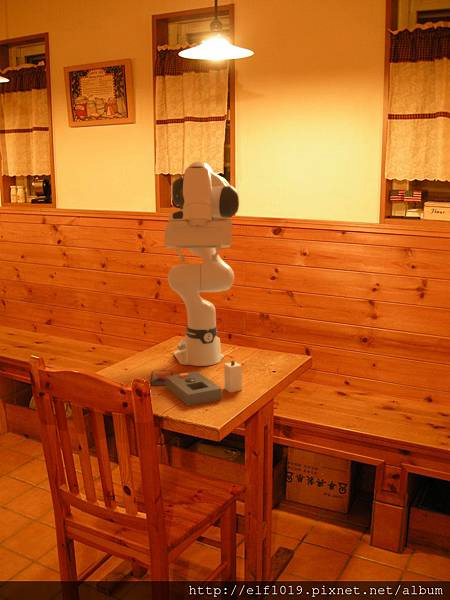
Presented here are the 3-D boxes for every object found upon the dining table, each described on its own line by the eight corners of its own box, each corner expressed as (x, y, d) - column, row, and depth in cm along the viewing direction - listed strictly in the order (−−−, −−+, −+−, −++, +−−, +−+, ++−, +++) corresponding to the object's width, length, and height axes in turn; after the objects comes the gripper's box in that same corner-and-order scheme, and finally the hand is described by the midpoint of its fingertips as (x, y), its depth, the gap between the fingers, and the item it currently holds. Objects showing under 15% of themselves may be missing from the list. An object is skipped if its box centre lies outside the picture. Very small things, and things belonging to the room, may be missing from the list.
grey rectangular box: (165, 387, 219) (165, 374, 218) (196, 381, 224) (196, 369, 223) (188, 406, 201) (188, 392, 200) (221, 399, 207) (221, 386, 206)
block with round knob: (224, 388, 217) (224, 360, 215) (235, 386, 219) (235, 358, 217) (230, 392, 213) (230, 364, 211) (241, 390, 215) (241, 362, 213)
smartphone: (150, 387, 220) (150, 385, 220) (152, 373, 235) (152, 370, 234) (171, 387, 221) (171, 384, 220) (172, 372, 235) (172, 370, 235)
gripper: (231, 220, 191) (232, 264, 188) (164, 220, 190) (165, 264, 187) (232, 213, 185) (234, 258, 182) (163, 214, 184) (163, 259, 181)
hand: (198, 261), depth 185 cm, fingers open, 8 cm apart
